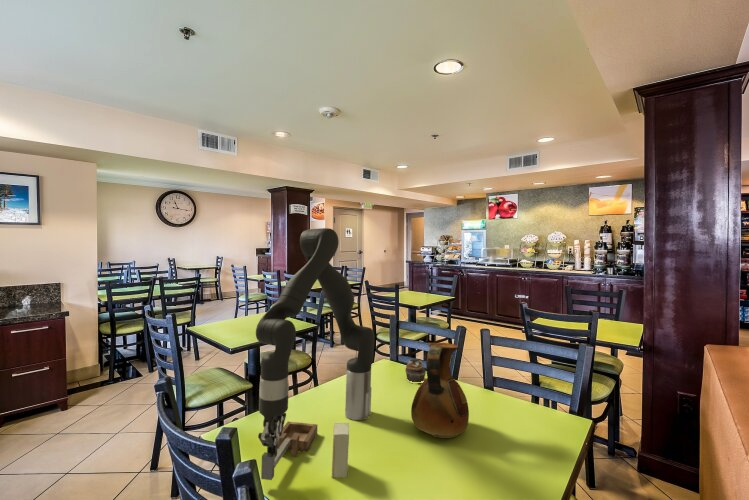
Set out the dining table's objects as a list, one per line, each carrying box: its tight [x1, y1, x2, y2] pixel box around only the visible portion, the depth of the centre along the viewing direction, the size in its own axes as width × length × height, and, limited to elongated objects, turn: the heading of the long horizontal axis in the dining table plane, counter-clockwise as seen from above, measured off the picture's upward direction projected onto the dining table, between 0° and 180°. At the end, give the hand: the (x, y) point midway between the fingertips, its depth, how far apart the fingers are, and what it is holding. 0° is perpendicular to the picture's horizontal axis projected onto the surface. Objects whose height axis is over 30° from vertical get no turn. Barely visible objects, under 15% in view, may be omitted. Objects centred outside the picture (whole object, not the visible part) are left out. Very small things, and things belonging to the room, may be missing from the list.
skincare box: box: [331, 422, 350, 478], centre depth 99 cm, size 6×4×12 cm
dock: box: [277, 420, 318, 458], centre depth 111 cm, size 10×13×5 cm
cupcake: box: [405, 357, 427, 382], centre depth 166 cm, size 10×10×10 cm
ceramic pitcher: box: [410, 342, 470, 439], centre depth 122 cm, size 20×20×30 cm
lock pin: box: [260, 438, 291, 481], centre depth 98 cm, size 3×15×6 cm, turn 172°
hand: (272, 457), depth 94 cm, fingers closed
